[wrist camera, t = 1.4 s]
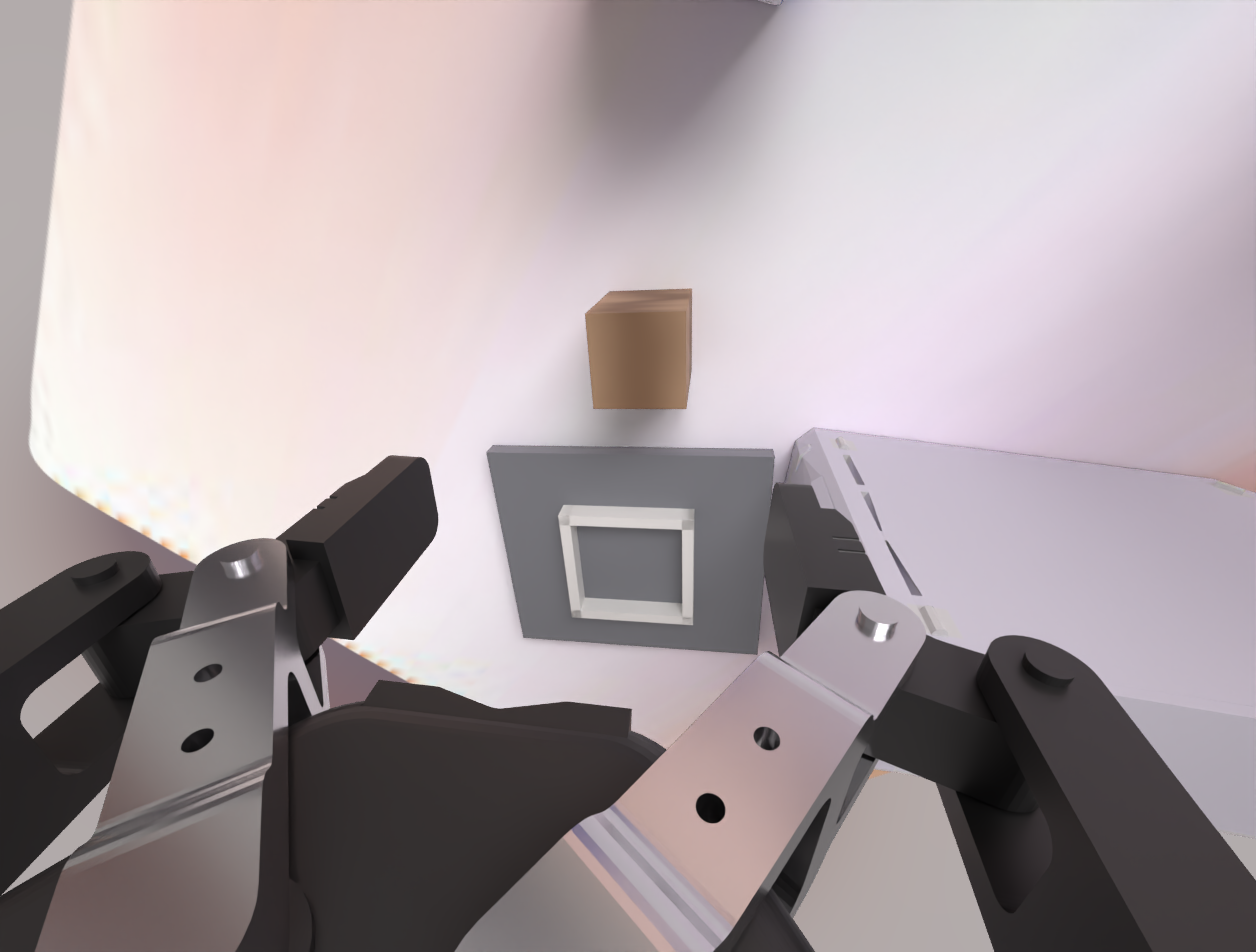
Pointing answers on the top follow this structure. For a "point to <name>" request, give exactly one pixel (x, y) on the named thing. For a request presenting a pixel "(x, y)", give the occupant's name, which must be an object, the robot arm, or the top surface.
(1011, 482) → the game console
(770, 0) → the ink cartridge box
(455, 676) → the top surface
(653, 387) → the walnut block
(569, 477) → the baseplate
